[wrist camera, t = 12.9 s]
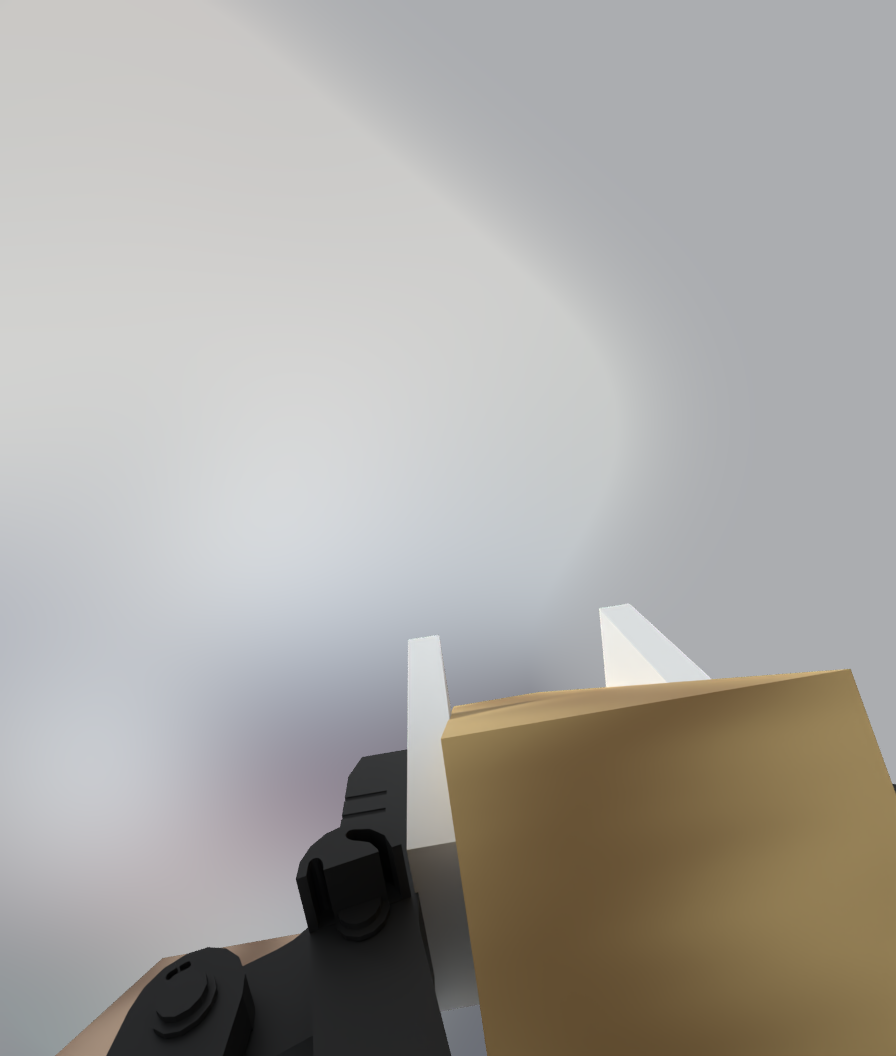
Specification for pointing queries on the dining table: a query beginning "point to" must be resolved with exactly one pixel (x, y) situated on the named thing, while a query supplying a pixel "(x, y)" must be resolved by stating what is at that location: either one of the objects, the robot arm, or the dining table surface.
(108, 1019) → the walnut stand
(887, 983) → the ochre bar
